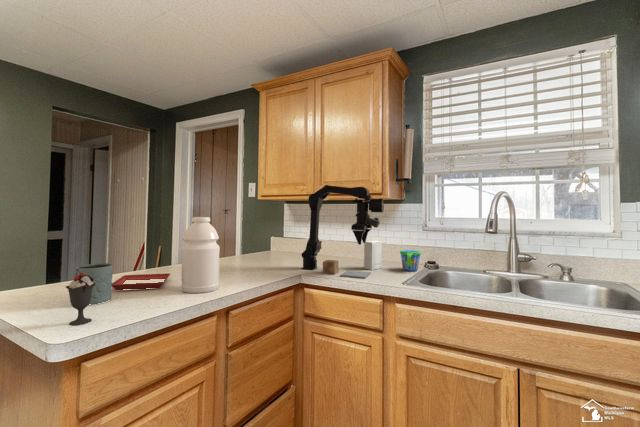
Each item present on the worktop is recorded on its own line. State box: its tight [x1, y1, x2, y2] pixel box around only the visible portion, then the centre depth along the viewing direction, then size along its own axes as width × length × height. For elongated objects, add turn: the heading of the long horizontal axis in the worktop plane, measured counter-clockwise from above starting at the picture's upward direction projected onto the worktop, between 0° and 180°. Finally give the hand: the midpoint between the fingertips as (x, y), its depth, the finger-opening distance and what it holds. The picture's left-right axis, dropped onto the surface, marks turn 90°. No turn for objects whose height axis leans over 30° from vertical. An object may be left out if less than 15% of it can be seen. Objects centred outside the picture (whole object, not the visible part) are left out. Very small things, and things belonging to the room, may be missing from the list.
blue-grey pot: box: [75, 262, 114, 305], centre depth 104 cm, size 10×10×12 cm
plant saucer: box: [111, 273, 171, 291], centre depth 126 cm, size 18×18×3 cm
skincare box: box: [363, 240, 383, 271], centre depth 167 cm, size 8×6×15 cm
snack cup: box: [399, 249, 422, 272], centre depth 164 cm, size 16×10×10 cm
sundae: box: [65, 268, 96, 326], centre depth 85 cm, size 7×7×15 cm
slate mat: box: [339, 270, 372, 280], centre depth 150 cm, size 12×12×1 cm
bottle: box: [180, 216, 221, 294], centre depth 122 cm, size 14×14×28 cm
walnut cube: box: [322, 259, 339, 276], centre depth 155 cm, size 6×6×6 cm
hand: (362, 243), depth 155 cm, fingers open, 9 cm apart
